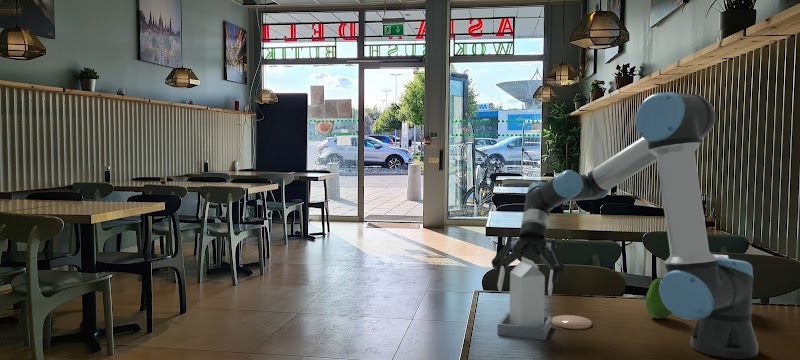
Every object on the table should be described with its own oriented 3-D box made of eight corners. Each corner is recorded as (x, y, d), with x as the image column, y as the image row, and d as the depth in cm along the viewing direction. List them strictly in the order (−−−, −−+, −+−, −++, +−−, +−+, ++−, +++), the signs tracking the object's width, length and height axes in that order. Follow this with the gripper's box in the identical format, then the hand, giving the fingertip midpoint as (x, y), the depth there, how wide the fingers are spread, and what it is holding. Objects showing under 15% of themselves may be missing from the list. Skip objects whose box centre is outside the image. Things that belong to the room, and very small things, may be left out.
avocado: (644, 320, 185) (645, 279, 184) (646, 313, 192) (647, 274, 191) (673, 323, 181) (675, 282, 180) (674, 316, 188) (675, 277, 188)
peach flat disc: (599, 324, 180) (599, 321, 180) (574, 331, 174) (574, 328, 174) (568, 315, 189) (568, 313, 189) (543, 322, 183) (543, 319, 183)
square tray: (551, 326, 178) (551, 316, 178) (544, 339, 167) (544, 329, 166) (506, 321, 183) (507, 312, 183) (497, 334, 171) (497, 324, 171)
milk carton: (520, 332, 170) (521, 262, 169) (509, 324, 177) (510, 257, 176) (544, 330, 172) (545, 261, 171) (532, 323, 179) (533, 256, 178)
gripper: (578, 238, 183) (572, 302, 170) (493, 233, 192) (481, 293, 179) (577, 222, 178) (570, 286, 165) (489, 218, 187) (476, 279, 174)
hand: (524, 290), depth 172 cm, fingers open, 13 cm apart
